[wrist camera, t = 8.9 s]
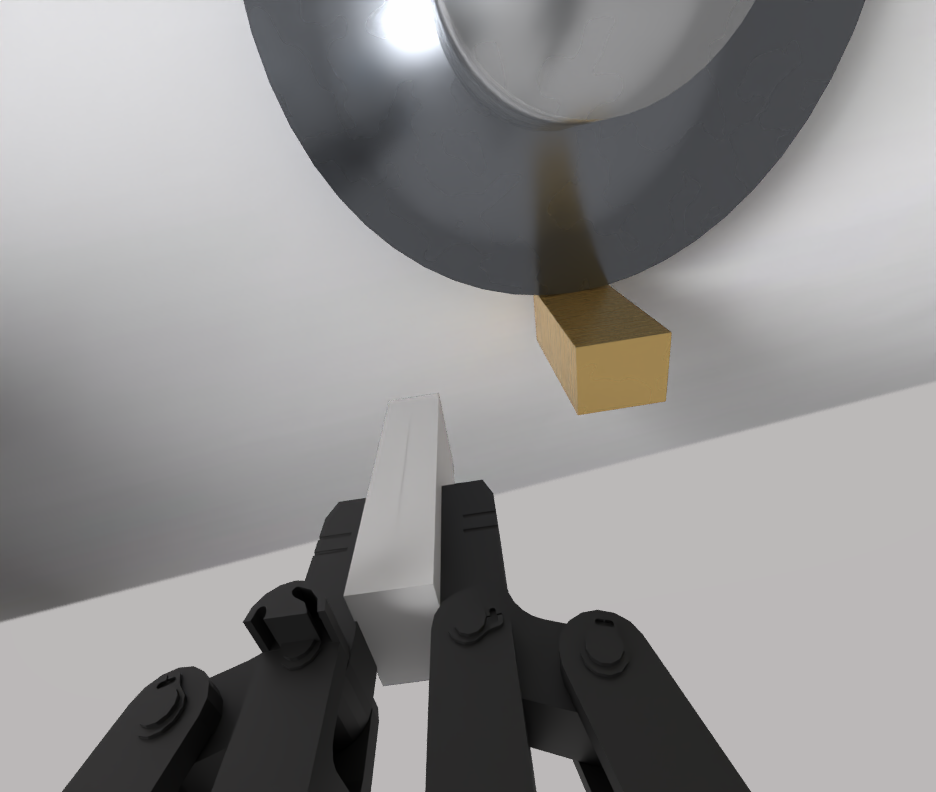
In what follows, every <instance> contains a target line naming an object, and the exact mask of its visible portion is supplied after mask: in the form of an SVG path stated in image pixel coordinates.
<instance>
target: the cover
mask: <svg viewBox="0 0 936 792" xmlns="http://www.w3.org/2000/svg"><path fill="white" fill-rule="evenodd" d="M754 2H755V0H430V5H431V10H432V16H433V21H434V25H435V28H436V32H437V35H438V39H439V42H440V44H441V47H442V49H443V52H444V54H445V57H446V59H447V61H448V63H449V65H450V66H451V68H452V70H453V72H454V74H455V76H456V77H457V78H458V80H459V81H460V83H461V84H462V85H463V87H464V88H465V90H466V91H467V92H468V93H469V94H470V95H471V96H472V97H473V98H474V100H475V101H476V102H477V103H479V104H480V105H481V106H482V107H483V108H485V109H486V110H487V111H488V112H489V113H491V114H493V115H494V116H496V117H497V118H499V119H501V120H502V121H505V122H507V123H509V124H512V125H514V126H517V127H521V128H525V129H529V130H536V131H557V130H563V129H568V128H573V127H577V126H581V125H585V124H589V123H593V122H597V121H601V120H605V119H609V118H613V117H617V116H621V115H625V114H629V113H631V112H634V111H637V110H639V109H642V108H645V107H647V106H649V105H651V104H653V103H655V102H657V101H659V100H661V99H663V98H665V97H666V96H668V95H669V94H671V93H672V92H674V91H675V90H677V89H678V88H680V87H681V86H682V85H684V84H685V83H687V82H688V81H689V80H690V79H691V78H692V77H694V76H695V75H696V74H697V73H698V72H699V71H700V70H702V69H703V68H704V67H705V66H706V65H707V64H708V63H709V62H710V61H711V60H712V59H713V57H714V56H715V55H716V54H717V53H718V52H719V51H720V50H721V49H722V48H723V47H724V45H725V44H726V43H727V42H728V40H729V39H730V38H731V36H732V35H733V34H734V32H735V31H736V30H737V28H738V27H739V26H740V24H741V23H742V21H743V20H744V18H745V17H746V15H747V13H748V12H749V10H750V8H751V7H752V5H753V4H754Z"/></svg>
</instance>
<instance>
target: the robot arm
mask: <svg viewBox="0 0 936 792" xmlns="http://www.w3.org/2000/svg"><path fill="white" fill-rule="evenodd" d="M243 623H244V624H245V626H246V628H247V629H248V630H249V632H250V634H251V635H252V637H253V638H254V640H255V641H256V643H257V645H258V646H259V648H260V649H261V651H262V653H261V654H260V655H258V656H256V657H255V658H252V659H251V660H249V661H247V662H244V663H242V664H240V665H238V666H236V667H233V668H231V669H229V670H226V671H224V672H222V673H220V674H217V675H215V676H213V677H211V678H209V677H208V676H207V674H206V673H205V672H204V671H202V670H200V669H198V668H196V667H194V666H193V667H182V668H178V669H175V670H173V671H171V672H168V673H166V674H164V675H162V676H160V677H159V678H158V679H156V680H155V681H153V682H152V683H151V684H149V685H148V686H147V687H145V688H144V689H143V690H142V691H141V692H140V694H138V696H137V697H136V698H135V699H134V700H133V701H132V702H131V703H130V704H129V705H128V707H127V708H126V709H125V711H124V712H123V713H122V715H121V716H120V717H119V718H118V720H117V721H116V722H115V723H114V725H113V726H112V727H111V729H110V730H109V731H108V733H107V734H106V735H105V737H104V738H103V739H102V741H101V742H100V743H99V744H98V746H97V747H96V748H95V750H94V751H93V752H92V753H91V755H90V756H89V757H88V759H87V760H86V761H85V763H84V764H83V765H82V766H81V768H80V769H79V770H78V772H77V773H76V774H75V776H74V777H73V778H72V779H71V781H70V782H69V783H68V785H67V786H66V787H65V789H64V790H63V791H62V792H371V785H372V776H373V767H374V758H375V750H376V742H377V733H378V724H379V717H378V707H377V705H376V702H375V700H374V698H373V695H374V687H375V681H376V674H377V673H378V676H379V678H380V680H381V682H382V684H383V686H388V685H396V684H403V683H411V682H419V681H426V680H429V703H428V705H429V706H428V733H427V762H426V791H425V792H536V786H535V778H534V771H533V764H532V757H531V750H530V747H532V748H535V749H539V750H543V751H546V752H550V753H553V754H556V755H559V756H563V757H566V758H569V759H573V762H574V764H575V767H576V769H577V771H578V774H579V776H580V778H581V781H582V783H583V785H584V788H585V790H586V792H751V791H750V790H749V788H748V787H747V785H746V784H745V782H744V781H743V779H742V778H741V777H740V775H739V774H738V772H737V771H736V769H735V768H734V766H733V765H732V763H731V762H730V761H729V759H728V758H727V756H726V755H725V753H724V752H723V750H722V749H721V747H720V746H719V745H718V743H717V742H716V740H715V739H714V737H713V736H712V734H711V733H710V731H709V730H708V729H707V727H706V726H705V724H704V723H703V721H702V720H701V718H700V717H699V715H698V714H697V713H696V711H695V710H694V708H693V707H692V705H691V704H690V702H689V701H688V699H687V698H686V697H685V695H684V694H683V692H682V691H681V689H680V688H679V687H678V685H677V683H676V682H675V681H674V679H673V678H672V676H671V675H670V673H669V672H668V670H667V669H666V667H665V666H664V665H663V663H662V662H661V660H660V659H659V657H658V656H657V654H656V653H655V652H654V650H653V649H652V647H651V646H650V644H649V643H648V641H647V640H646V638H645V637H644V636H643V634H642V633H641V632H640V631H639V630H638V629H637V628H636V627H635V626H634V625H633V624H632V623H631V622H630V621H628V620H626V619H625V618H623V617H621V616H619V615H617V614H615V613H612V612H606V611H600V610H595V611H588V612H583V613H580V614H579V615H578V616H576V617H574V618H573V619H571V620H570V621H569V622H568V623H567V624H565V623H560V622H554V621H549V620H544V619H541V618H537V617H535V616H532V615H530V614H528V613H527V612H525V611H523V610H522V609H521V608H520V607H519V606H518V605H517V604H515V602H514V601H513V599H512V598H511V596H510V595H509V593H508V589H507V583H506V577H505V570H504V562H503V555H502V548H501V541H500V534H499V529H498V522H497V515H496V509H495V503H494V496H493V493H492V491H491V490H490V489H489V487H488V486H487V485H486V484H485V482H484V481H483V480H478V481H471V482H464V483H457V484H454V465H453V460H452V455H451V450H450V445H449V441H448V436H447V431H446V426H445V421H444V416H443V411H442V406H441V402H440V397H439V393H436V394H429V395H423V396H416V397H410V398H403V399H396V400H390V401H389V403H388V407H387V411H386V416H385V420H384V424H383V428H382V433H381V437H380V441H379V446H378V450H377V454H376V458H375V463H374V467H373V471H372V476H371V480H370V484H369V489H368V493H367V497H366V498H363V499H356V500H349V501H342V502H339V503H338V504H337V505H336V506H335V508H334V509H333V510H332V511H331V512H330V514H329V515H328V516H327V517H326V519H325V522H324V525H323V528H322V531H321V534H320V540H318V543H317V546H316V549H315V556H313V558H312V561H311V564H310V567H309V570H308V573H307V576H306V579H305V581H293V582H290V583H286V584H283V585H280V586H279V587H277V588H275V589H274V590H272V591H270V592H269V593H267V594H265V595H264V596H263V597H262V598H261V599H260V600H259V601H258V602H257V603H256V604H255V605H254V606H253V607H252V608H251V610H250V612H249V613H248V615H247V616H246V618H245V620H244V621H243Z"/></svg>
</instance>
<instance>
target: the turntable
mask: <svg viewBox="0 0 936 792" xmlns="http://www.w3.org/2000/svg"><path fill="white" fill-rule="evenodd" d="M864 2H865V0H755V2H754V4H753V5H752V7H751V8H750V10H749V12H748V13H747V15H746V17H745V18H744V20H743V21H742V23H741V24H740V26H739V27H738V28H737V30H736V31H735V32H734V34H733V35H732V36H731V38H730V39H729V40H728V42H727V43H726V44H725V45H724V47H723V48H722V49H721V50H720V51H719V52H718V53H717V54H716V55H715V56H714V57H713V59H712V60H711V61H710V62H709V63H708V64H707V65H706V66H705V67H704V68H703V69H702V70H700V71H699V72H698V73H697V74H696V75H695V76H694V77H692V78H691V79H690V80H689V81H688V82H687V83H685V84H684V85H682V86H681V87H680V88H678V89H677V90H675V91H674V92H672V93H671V94H669V95H668V96H666V97H665V98H663V99H661V100H659V101H657V102H655V103H653V104H651V105H649V106H647V107H645V108H642V109H639V110H637V111H634V112H631V113H629V114H625V115H621V116H617V117H613V118H609V119H605V120H601V121H597V122H593V123H589V124H585V125H581V126H577V127H573V128H568V129H563V130H557V131H536V130H529V129H525V128H521V127H517V126H514V125H512V124H509V123H507V122H505V121H502V120H501V119H499V118H497V117H496V116H494V115H493V114H491V113H489V112H488V111H487V110H486V109H485V108H483V107H482V106H481V105H480V104H479V103H477V102H476V101H475V100H474V98H473V97H472V96H471V95H470V94H469V93H468V92H467V91H466V90H465V88H464V87H463V85H462V84H461V83H460V81H459V80H458V78H457V77H456V76H455V74H454V72H453V70H452V68H451V66H450V65H449V63H448V61H447V59H446V57H445V54H444V52H443V49H442V47H441V44H440V42H439V39H438V35H437V32H436V28H435V25H434V21H433V16H432V10H431V5H430V0H244V4H245V8H246V12H247V16H248V20H249V24H250V28H251V32H252V35H253V38H254V41H255V43H256V46H257V49H258V52H259V55H260V57H261V60H262V63H263V66H264V68H265V71H266V74H267V77H268V80H269V82H270V85H271V87H272V89H273V91H274V93H275V95H276V97H277V99H278V101H279V103H280V106H281V108H282V110H283V112H284V114H285V116H286V118H287V120H288V122H289V124H290V127H291V128H292V130H293V131H294V133H295V135H296V136H297V138H298V140H299V141H300V143H301V145H302V146H303V148H304V149H305V151H306V153H307V154H308V156H309V158H310V159H311V161H312V163H313V164H314V166H315V167H316V168H317V170H318V171H319V172H320V173H321V175H322V176H323V177H324V179H325V180H326V181H327V182H328V184H329V185H330V186H331V188H332V189H333V190H334V192H335V193H336V194H337V195H338V197H339V198H340V199H341V200H342V201H343V202H344V203H345V204H346V205H347V206H348V207H349V208H350V209H351V210H352V211H353V212H354V213H355V214H356V215H357V217H358V218H359V219H360V220H361V221H362V222H363V223H364V224H365V225H366V226H367V227H369V228H370V229H371V230H372V231H374V232H375V233H376V234H377V235H379V236H380V237H381V238H382V239H383V240H385V241H386V242H387V243H388V244H390V245H391V246H392V247H393V248H395V249H396V250H398V251H399V252H401V253H403V254H404V255H406V256H407V257H409V258H411V259H412V260H414V261H416V262H417V263H419V264H420V265H422V266H424V267H426V268H428V269H430V270H432V271H435V272H437V273H439V274H441V275H443V276H445V277H448V278H450V279H452V280H455V281H458V282H461V283H465V284H468V285H471V286H474V287H478V288H481V289H485V290H491V291H497V292H503V293H509V294H521V295H534V308H535V322H536V335H537V341H538V343H539V345H540V346H541V348H542V350H543V352H544V354H545V356H546V357H547V359H548V361H549V363H550V365H551V367H552V368H553V370H554V372H555V374H556V376H557V378H558V380H559V381H560V383H561V385H562V387H563V389H564V391H565V392H566V394H567V396H568V398H569V400H570V402H571V403H572V405H573V407H574V409H575V411H576V413H577V414H578V415H582V414H588V413H595V412H601V411H608V410H614V409H620V408H627V407H633V406H639V405H646V404H652V403H658V402H665V401H666V392H667V381H668V369H669V357H670V346H671V334H672V332H670V331H669V330H668V329H666V328H665V327H664V326H662V325H661V324H660V323H658V322H657V321H656V320H654V319H653V318H652V317H650V316H649V315H648V314H646V313H645V312H644V311H642V310H641V309H640V308H638V307H637V306H636V305H634V304H633V303H632V302H630V301H629V300H628V299H626V298H625V297H624V296H622V295H621V294H620V293H618V292H617V291H616V290H614V289H613V288H612V287H610V286H609V285H608V284H611V283H613V282H616V281H619V280H622V279H625V278H627V277H630V276H633V275H636V274H638V273H640V272H642V271H644V270H646V269H648V268H650V267H652V266H654V265H656V264H658V263H660V262H662V261H664V260H666V259H668V258H669V257H671V256H672V255H674V254H675V253H677V252H679V251H680V250H682V249H683V248H685V247H686V246H688V245H689V244H691V243H693V242H694V241H696V240H697V239H698V238H700V237H701V236H702V235H703V234H705V233H706V232H707V231H708V230H710V229H711V228H712V227H713V226H715V225H716V224H717V223H718V222H720V221H721V220H722V219H723V218H725V217H726V216H727V215H728V214H729V213H730V212H731V211H732V210H733V209H734V208H735V207H736V206H737V205H738V204H739V203H740V202H741V201H742V200H743V199H744V198H745V197H746V196H747V195H748V194H749V193H750V192H751V191H752V190H753V189H754V188H755V187H756V186H757V185H758V184H759V182H760V181H761V180H762V179H763V178H764V177H765V175H766V174H767V173H768V172H769V171H770V169H771V168H772V167H773V166H774V165H775V164H776V162H777V161H778V160H779V159H780V158H781V156H782V155H783V154H784V152H785V151H786V149H787V148H788V147H789V145H790V144H791V142H792V141H793V139H794V138H795V137H796V135H797V134H798V132H799V131H800V129H801V128H802V127H803V125H804V124H805V122H806V121H807V119H808V118H809V116H810V114H811V113H812V111H813V109H814V107H815V106H816V104H817V102H818V101H819V99H820V97H821V95H822V94H823V92H824V90H825V88H826V87H827V85H828V83H829V82H830V80H831V78H832V76H833V74H834V72H835V70H836V68H837V66H838V63H839V61H840V59H841V57H842V55H843V53H844V51H845V48H846V46H847V44H848V42H849V40H850V38H851V36H852V34H853V31H854V29H855V26H856V24H857V21H858V18H859V16H860V13H861V10H862V8H863V5H864Z"/></svg>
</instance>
